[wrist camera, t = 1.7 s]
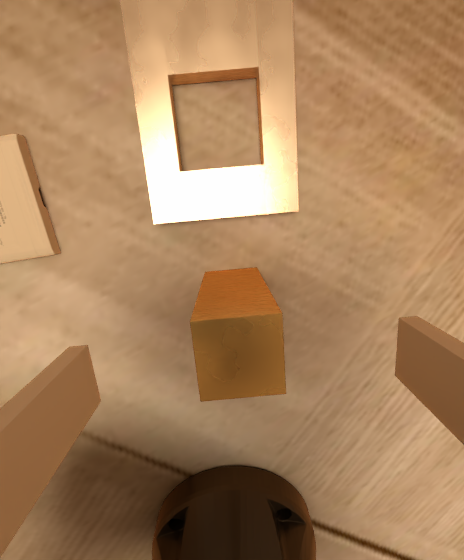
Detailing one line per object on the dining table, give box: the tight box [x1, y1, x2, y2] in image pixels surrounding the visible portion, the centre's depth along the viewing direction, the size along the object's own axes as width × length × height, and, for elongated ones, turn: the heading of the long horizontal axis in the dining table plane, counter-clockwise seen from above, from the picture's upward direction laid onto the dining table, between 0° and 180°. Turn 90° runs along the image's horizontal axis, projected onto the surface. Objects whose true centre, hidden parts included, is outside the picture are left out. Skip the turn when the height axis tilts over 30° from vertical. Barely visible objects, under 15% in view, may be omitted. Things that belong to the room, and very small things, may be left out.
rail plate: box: [120, 0, 299, 224], centre depth 18 cm, size 22×10×2 cm, turn 5°
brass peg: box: [190, 267, 286, 401], centre depth 18 cm, size 4×4×10 cm
